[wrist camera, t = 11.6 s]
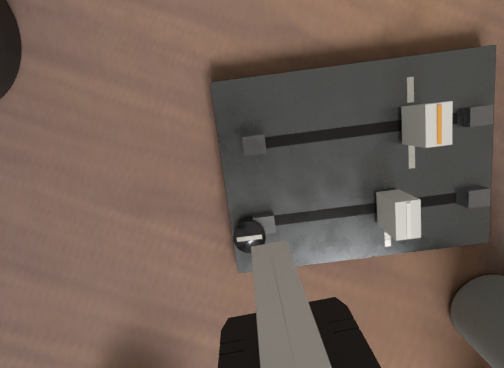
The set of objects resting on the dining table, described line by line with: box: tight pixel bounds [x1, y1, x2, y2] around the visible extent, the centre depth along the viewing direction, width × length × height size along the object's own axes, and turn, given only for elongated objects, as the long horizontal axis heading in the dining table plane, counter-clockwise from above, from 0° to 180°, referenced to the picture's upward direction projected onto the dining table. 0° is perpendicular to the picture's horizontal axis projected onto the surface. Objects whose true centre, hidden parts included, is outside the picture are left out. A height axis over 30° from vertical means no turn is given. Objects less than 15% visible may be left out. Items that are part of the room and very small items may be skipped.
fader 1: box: [376, 189, 421, 241], centre depth 33 cm, size 4×2×5 cm, turn 7°
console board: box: [210, 45, 496, 273], centre depth 34 cm, size 22×30×4 cm
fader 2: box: [401, 101, 453, 148], centre depth 31 cm, size 4×2×5 cm, turn 7°
